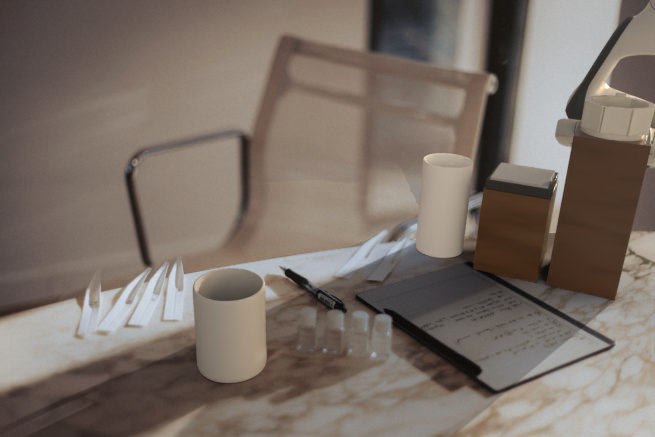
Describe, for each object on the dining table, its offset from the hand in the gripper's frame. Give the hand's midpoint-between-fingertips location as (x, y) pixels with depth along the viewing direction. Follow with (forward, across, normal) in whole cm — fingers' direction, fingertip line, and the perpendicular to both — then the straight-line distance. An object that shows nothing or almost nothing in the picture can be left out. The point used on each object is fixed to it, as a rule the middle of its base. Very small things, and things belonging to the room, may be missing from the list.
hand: (615, 124), depth 110 cm
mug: (+46, -39, +50) cm, 78 cm away
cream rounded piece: (+15, 0, +5) cm, 16 cm away
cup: (+8, -24, +28) cm, 38 cm away
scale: (+16, -12, +16) cm, 25 cm away
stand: (+8, -6, +29) cm, 30 cm away
